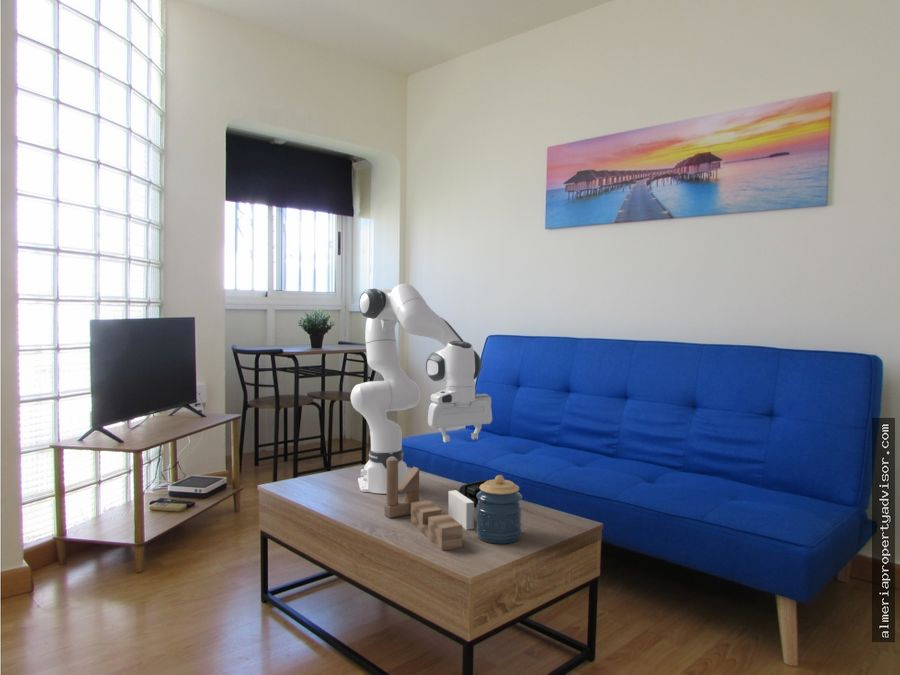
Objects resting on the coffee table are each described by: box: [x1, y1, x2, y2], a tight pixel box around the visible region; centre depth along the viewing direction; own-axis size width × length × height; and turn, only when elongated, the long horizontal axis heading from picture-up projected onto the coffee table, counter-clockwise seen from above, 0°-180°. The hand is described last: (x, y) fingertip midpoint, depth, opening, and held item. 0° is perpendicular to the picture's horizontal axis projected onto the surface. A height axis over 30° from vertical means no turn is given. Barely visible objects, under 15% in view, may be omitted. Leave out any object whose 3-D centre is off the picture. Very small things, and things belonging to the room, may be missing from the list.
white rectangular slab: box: [447, 489, 475, 531], centre depth 189 cm, size 13×2×8 cm, turn 24°
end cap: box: [458, 479, 488, 509], centre depth 208 cm, size 10×7×7 cm
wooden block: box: [384, 458, 420, 519], centre depth 195 cm, size 4×11×18 cm, turn 123°
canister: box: [475, 474, 523, 545], centre depth 177 cm, size 13×13×18 cm
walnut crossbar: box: [410, 499, 463, 551], centre depth 179 cm, size 24×6×6 cm, turn 24°
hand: (460, 440), depth 187 cm, fingers open, 8 cm apart
